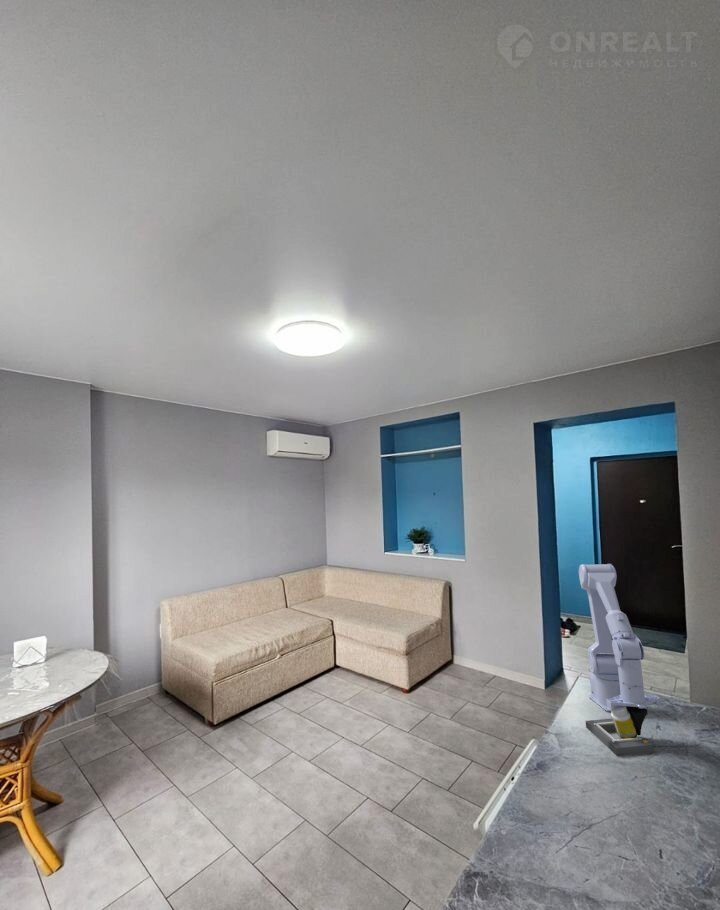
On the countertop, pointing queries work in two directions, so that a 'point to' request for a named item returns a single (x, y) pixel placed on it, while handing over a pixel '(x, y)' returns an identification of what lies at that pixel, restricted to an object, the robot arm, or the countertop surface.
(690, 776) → the countertop surface
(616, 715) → the supplement bottle
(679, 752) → the countertop surface
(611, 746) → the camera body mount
